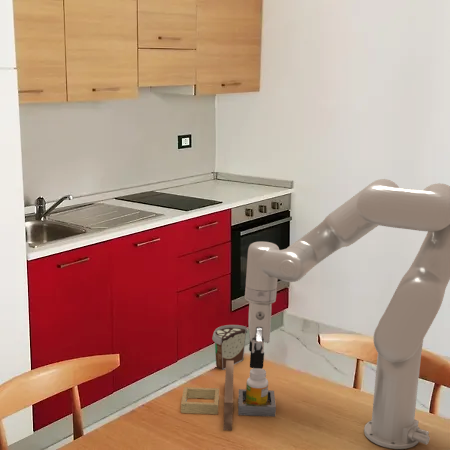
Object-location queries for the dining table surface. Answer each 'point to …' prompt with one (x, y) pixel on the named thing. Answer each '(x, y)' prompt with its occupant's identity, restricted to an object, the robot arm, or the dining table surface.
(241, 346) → the food container
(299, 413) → the dining table surface
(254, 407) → the double square frame
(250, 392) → the supplement bottle
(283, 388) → the dining table surface
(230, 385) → the brown wooden plank
